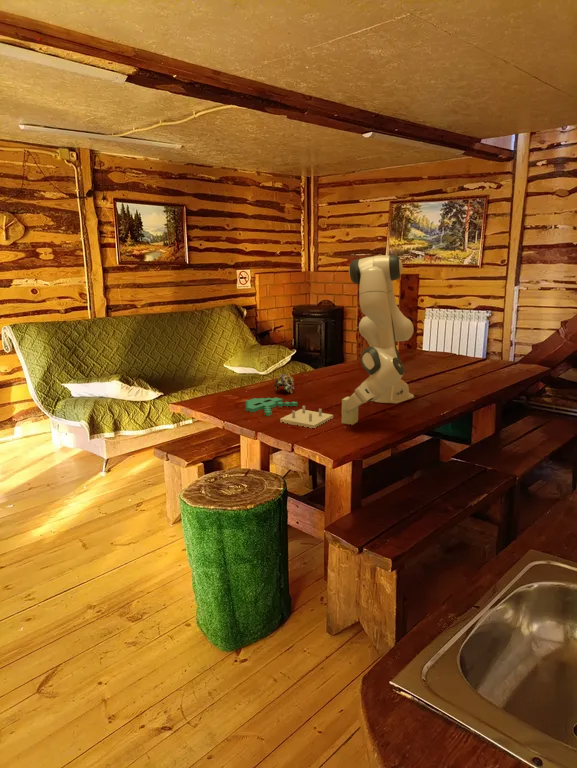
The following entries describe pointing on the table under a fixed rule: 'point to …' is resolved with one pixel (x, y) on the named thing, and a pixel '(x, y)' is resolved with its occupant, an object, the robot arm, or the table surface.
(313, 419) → the pin plate
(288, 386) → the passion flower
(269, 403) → the alien figure
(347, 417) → the beige rectangular block
